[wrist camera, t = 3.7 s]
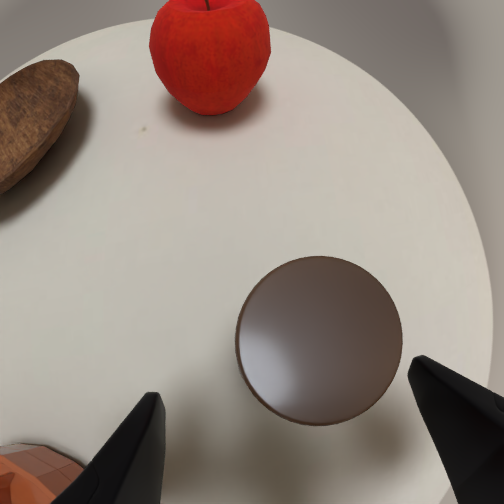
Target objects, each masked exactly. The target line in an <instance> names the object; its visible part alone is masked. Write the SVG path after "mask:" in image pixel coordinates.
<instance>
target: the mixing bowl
mask: <svg viewBox="0 0 504 504" xmlns="http://www.w3.org/2000/svg"><path fill="white" fill-rule="evenodd" d="M83 470H84V469H83V468H82V467H81V466H80V465H79V464H77V463H76V462H75V461H72V460H70V459H68V458H66V457H64V456H62V455H60V454H58V453H56V452H54V451H52V450H50V449H48V448H46V447H44V446H37V445H27V444H19V443H18V444H12V445H6V446H0V504H50V503H51V502H52V501H53V500H54V499H55V498H56V497H57V496H58V495H59V494H60V493H62V492H63V491H64V490H65V489H66V488H67V487H68V486H69V485H70V484H71V483H72V482H73V481H74V480H75V479H76V478H77V477H78V476H79V475H80V473H81V472H82V471H83Z"/></svg>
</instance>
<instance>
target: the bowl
mask: <svg viewBox="0 0 504 504" xmlns="http://www.w3.org/2000/svg"><path fill="white" fill-rule="evenodd" d="M78 84H79V74H78V72H77V71H76V69H75V67H74V66H73V65H72V64H70V63H68V62H66V61H64V60H43V61H40V62H37V63H34V64H31V65H29V66H27V67H25V68H23V69H21V70H20V71H18V72H16V73H15V74H13V75H11V76H10V77H8V78H7V79H6V80H4V81H3V82H2V83H0V195H1V194H2V193H4V192H6V191H8V190H9V189H11V188H12V187H13V186H14V185H15V184H17V183H18V182H19V181H20V180H21V179H22V178H24V177H25V176H26V175H27V174H28V173H30V172H31V171H32V170H33V169H34V167H35V166H36V165H37V163H38V162H39V161H40V160H41V158H42V157H43V156H44V155H45V153H46V152H47V151H48V150H49V149H50V147H51V146H52V145H53V144H54V143H55V141H56V140H57V139H58V138H59V136H60V135H61V133H62V131H63V129H64V127H65V125H66V124H67V122H68V120H69V118H70V116H71V113H72V111H73V109H74V107H75V104H76V100H77V92H78Z"/></svg>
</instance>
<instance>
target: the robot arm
mask: <svg viewBox="0 0 504 504" xmlns="http://www.w3.org/2000/svg"><path fill="white" fill-rule="evenodd" d="M408 380H409V383H410V385H411V388H412V391H413V394H414V397H415V400H416V403H417V406H418V408H419V411H420V413H421V415H422V417H423V420H424V422H425V424H426V426H427V428H428V431H429V433H430V435H431V437H432V440H433V442H434V444H435V446H436V449H437V451H438V453H439V456H440V458H441V461H442V463H443V465H444V468H445V470H446V473H447V475H448V478H449V480H450V483H451V485H452V488H453V491H454V494H455V496H456V499H457V502H458V504H504V397H502V396H500V395H498V394H496V393H493V392H492V391H490V390H488V389H487V388H485V387H483V386H481V385H479V384H477V383H475V382H473V381H471V380H470V379H468V378H466V377H464V376H462V375H460V374H458V373H456V372H455V371H453V370H451V369H449V368H447V367H445V366H443V365H441V364H440V363H438V362H436V361H434V360H432V359H430V358H428V357H427V356H425V355H420V356H417V357H414V358H413V360H412V362H411V365H410V368H409V371H408ZM165 418H166V412H165V407H164V404H163V401H162V399H161V396H160V394H159V393H158V392H147V393H146V394H145V395H144V396H143V397H142V398H141V400H140V401H139V402H138V403H137V405H136V406H135V407H134V408H133V410H132V411H131V412H130V413H129V415H128V416H127V417H126V418H125V420H124V421H123V422H122V423H121V425H120V426H119V427H118V428H117V429H116V431H115V432H114V433H113V434H112V436H111V437H110V438H109V439H108V441H107V442H106V443H105V444H104V446H103V447H102V448H101V449H100V450H99V452H98V453H97V454H96V455H95V457H94V458H93V459H92V461H90V463H89V464H88V465H87V466H86V468H85V469H84V470H83V471H82V472H81V473H80V475H79V476H78V477H77V478H76V479H75V480H74V481H73V482H72V483H71V484H70V485H69V486H68V487H67V488H66V489H65V490H64V491H63V492H62V493H60V494H59V495H58V496H57V497H56V498H55V499H54V500H53V501H52V502H51V503H50V504H160V500H161V489H162V479H163V470H164V461H165V451H166V440H165Z"/></svg>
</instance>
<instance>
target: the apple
mask: <svg viewBox="0 0 504 504" xmlns="http://www.w3.org/2000/svg"><path fill="white" fill-rule="evenodd" d="M149 49H150V53H151V56H152V60H153V64H154V68H155V71H156V73H157V75H158V77H159V78H160V80H161V81H162V83H163V84H164V86H165V87H166V89H167V90H168V92H169V93H170V94H171V95H172V96H174V97H175V98H176V99H177V100H178V101H179V102H180V103H181V104H182V105H184V106H185V107H187V108H188V109H190V110H192V111H193V112H196V113H198V114H201V115H217V114H223V113H226V112H228V111H231V110H233V109H234V108H235V107H236V106H237V105H238V104H240V103H241V102H242V101H243V100H244V99H245V98H246V97H247V96H248V94H249V93H250V92H251V90H252V89H253V88H254V86H255V85H256V84H257V82H258V80H259V79H260V77H261V75H262V74H263V72H264V71H265V69H266V66H267V63H268V60H269V57H270V54H271V46H270V33H269V25H268V21H267V18H266V15H265V14H264V11H263V10H262V8H261V6H260V4H259V3H258V2H256V1H255V0H169V1H168V2H167V3H166V4H165V5H164V6H163V7H162V8H161V9H160V10H159V11H158V13H157V15H156V17H155V20H154V22H153V25H152V27H151V33H150V42H149Z"/></svg>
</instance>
